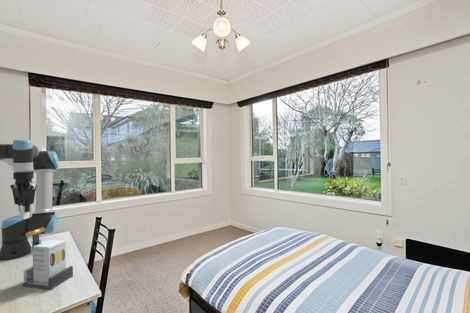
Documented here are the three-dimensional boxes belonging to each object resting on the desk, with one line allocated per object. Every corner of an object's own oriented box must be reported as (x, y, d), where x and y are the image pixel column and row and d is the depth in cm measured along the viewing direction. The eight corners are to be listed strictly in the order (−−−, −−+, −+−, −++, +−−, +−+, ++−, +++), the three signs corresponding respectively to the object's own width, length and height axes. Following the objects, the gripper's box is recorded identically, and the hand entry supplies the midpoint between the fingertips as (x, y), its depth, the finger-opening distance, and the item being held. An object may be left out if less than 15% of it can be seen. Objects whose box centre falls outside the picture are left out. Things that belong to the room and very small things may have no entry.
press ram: (45, 269, 123) (44, 226, 123) (48, 269, 123) (48, 226, 122) (23, 281, 113) (22, 233, 112) (27, 281, 112) (26, 233, 112)
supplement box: (48, 283, 112) (48, 247, 111) (32, 281, 113) (32, 246, 113) (66, 273, 121) (66, 240, 120) (51, 271, 123) (51, 238, 122)
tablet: (52, 246, 160) (52, 244, 160) (29, 251, 152) (29, 249, 152) (49, 238, 174) (49, 236, 174) (27, 242, 166) (27, 240, 166)
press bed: (46, 273, 124) (46, 263, 124) (72, 276, 121) (72, 266, 121) (22, 286, 112) (22, 275, 112) (51, 289, 110) (50, 278, 109)
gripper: (42, 170, 120) (43, 217, 121) (19, 170, 122) (20, 215, 123) (27, 172, 113) (28, 221, 113) (3, 171, 115) (4, 219, 116)
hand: (24, 218), depth 118 cm, fingers closed
